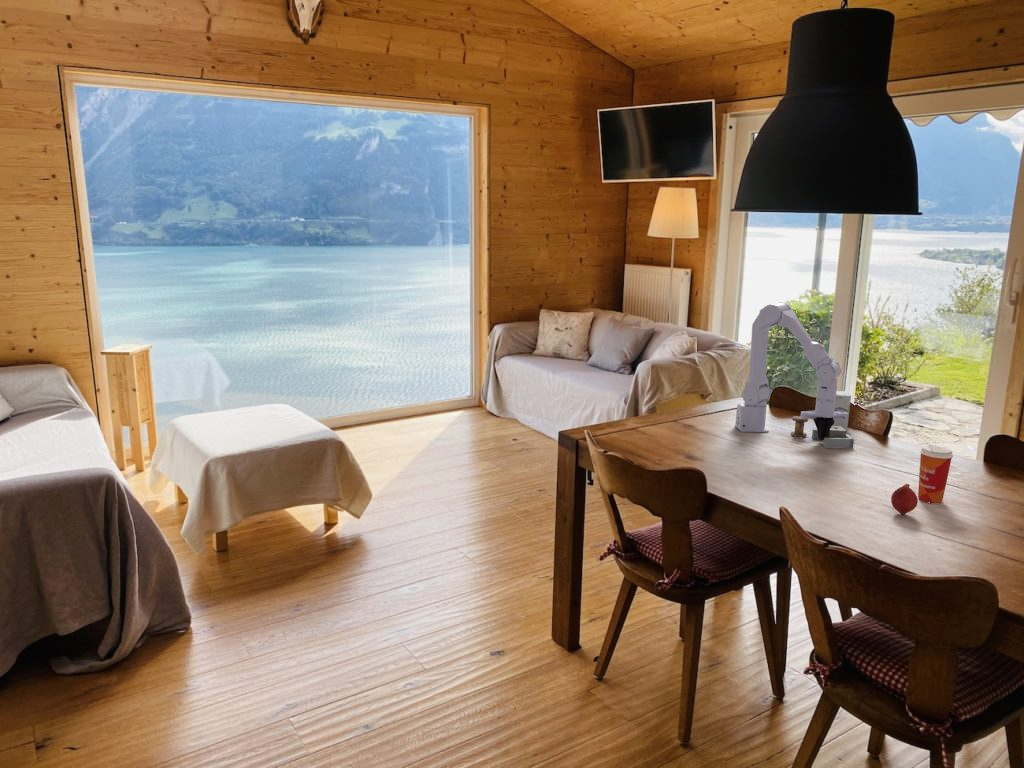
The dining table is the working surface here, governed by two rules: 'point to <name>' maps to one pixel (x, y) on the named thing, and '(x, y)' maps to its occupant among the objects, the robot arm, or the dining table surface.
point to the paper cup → (933, 472)
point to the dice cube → (836, 432)
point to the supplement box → (842, 407)
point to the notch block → (835, 441)
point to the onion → (904, 499)
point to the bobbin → (799, 426)
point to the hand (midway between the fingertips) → (821, 439)
